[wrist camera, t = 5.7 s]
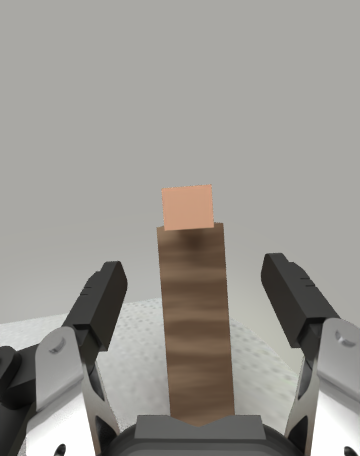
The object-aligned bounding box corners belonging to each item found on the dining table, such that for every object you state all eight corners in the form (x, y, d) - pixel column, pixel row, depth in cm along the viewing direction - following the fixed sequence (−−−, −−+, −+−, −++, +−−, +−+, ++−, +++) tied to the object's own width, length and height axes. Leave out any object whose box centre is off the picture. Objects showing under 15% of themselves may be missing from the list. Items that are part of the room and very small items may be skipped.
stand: (238, 477, 23) (223, 223, 22) (175, 476, 23) (156, 227, 22) (218, 371, 39) (209, 221, 38) (181, 372, 39) (170, 224, 38)
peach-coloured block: (213, 227, 13) (211, 184, 13) (164, 230, 13) (161, 188, 13) (198, 222, 37) (197, 207, 37) (181, 223, 37) (180, 209, 37)
